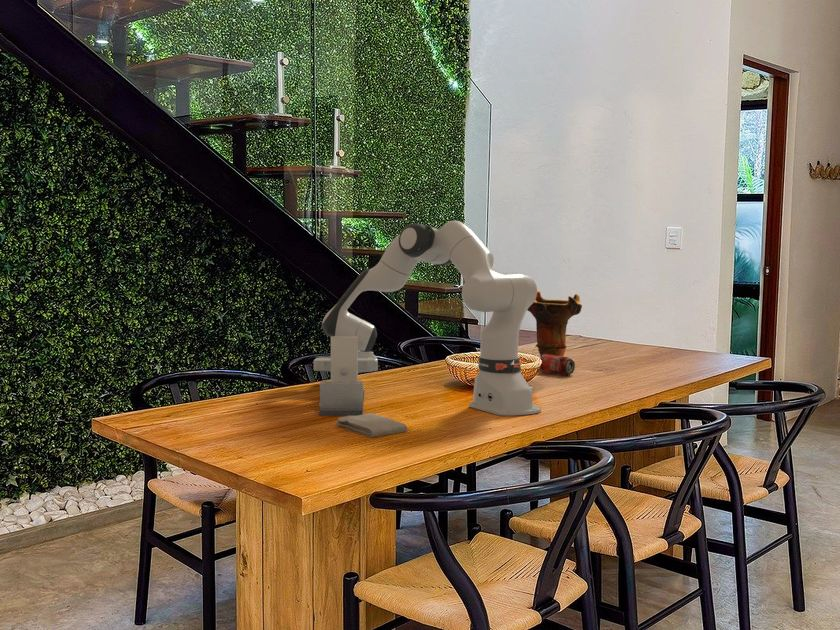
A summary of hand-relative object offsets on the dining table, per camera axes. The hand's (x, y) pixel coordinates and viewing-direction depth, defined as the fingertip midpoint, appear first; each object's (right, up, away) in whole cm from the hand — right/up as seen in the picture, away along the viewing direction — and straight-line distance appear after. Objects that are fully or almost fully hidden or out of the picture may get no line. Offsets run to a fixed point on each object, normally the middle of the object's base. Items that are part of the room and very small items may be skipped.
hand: (345, 368), depth 274 cm
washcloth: (+10, -14, -41) cm, 45 cm away
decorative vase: (+75, -2, +77) cm, 107 cm away
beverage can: (+73, -5, +46) cm, 86 cm away
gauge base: (0, -10, -12) cm, 16 cm away
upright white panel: (-1, -7, -4) cm, 8 cm away
